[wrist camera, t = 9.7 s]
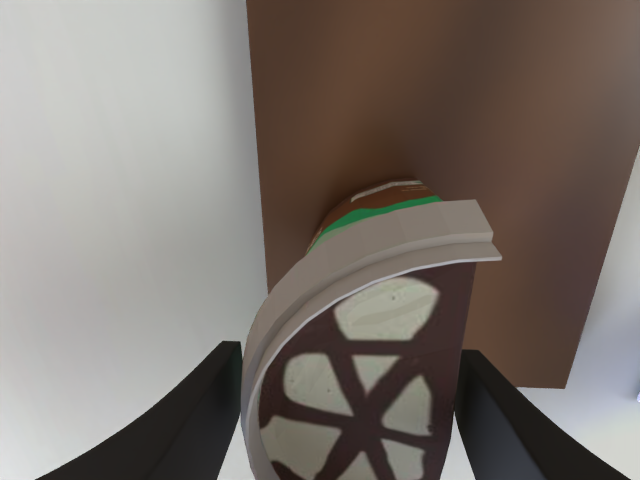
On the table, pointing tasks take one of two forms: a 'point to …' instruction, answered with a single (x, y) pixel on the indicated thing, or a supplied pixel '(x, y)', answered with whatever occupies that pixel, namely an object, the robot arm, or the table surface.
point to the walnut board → (459, 142)
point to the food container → (365, 340)
